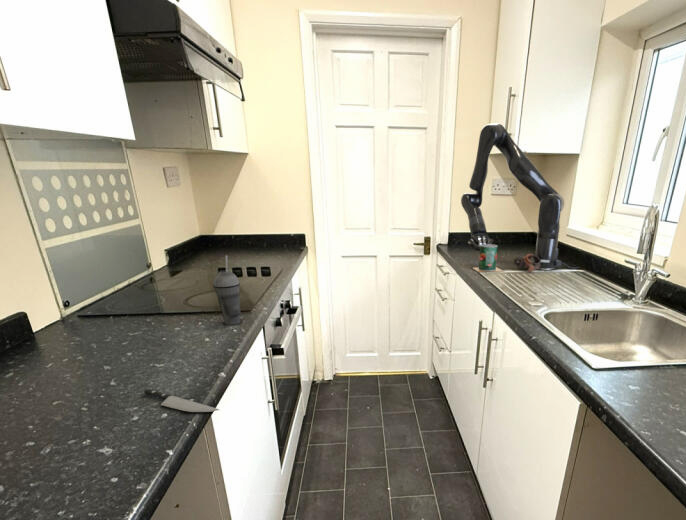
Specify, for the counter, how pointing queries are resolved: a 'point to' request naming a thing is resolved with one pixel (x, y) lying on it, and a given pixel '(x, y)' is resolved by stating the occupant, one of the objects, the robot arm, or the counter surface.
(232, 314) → the beverage cup
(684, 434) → the counter surface
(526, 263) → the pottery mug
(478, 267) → the trivet
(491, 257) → the canned tomato
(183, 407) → the chef's knife
